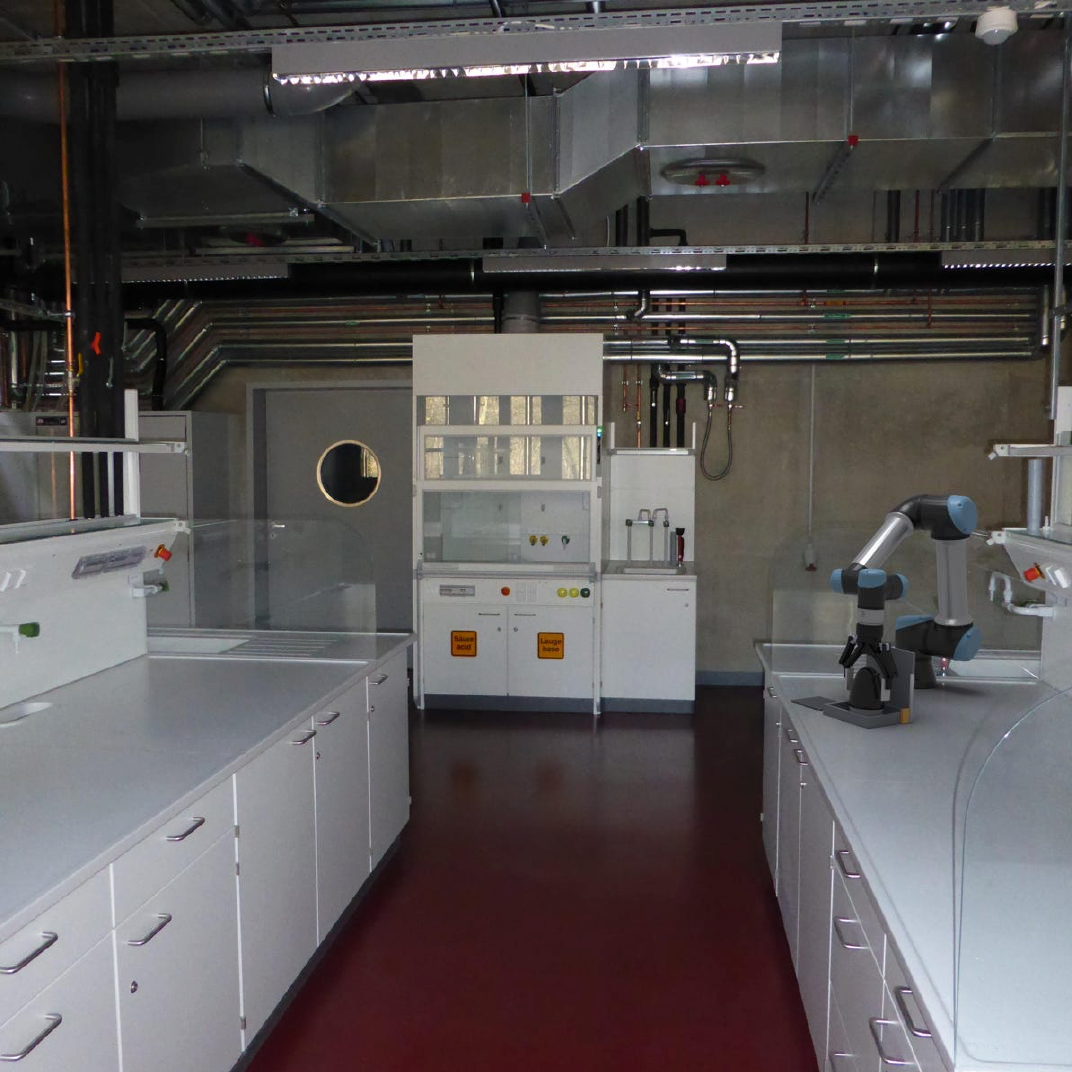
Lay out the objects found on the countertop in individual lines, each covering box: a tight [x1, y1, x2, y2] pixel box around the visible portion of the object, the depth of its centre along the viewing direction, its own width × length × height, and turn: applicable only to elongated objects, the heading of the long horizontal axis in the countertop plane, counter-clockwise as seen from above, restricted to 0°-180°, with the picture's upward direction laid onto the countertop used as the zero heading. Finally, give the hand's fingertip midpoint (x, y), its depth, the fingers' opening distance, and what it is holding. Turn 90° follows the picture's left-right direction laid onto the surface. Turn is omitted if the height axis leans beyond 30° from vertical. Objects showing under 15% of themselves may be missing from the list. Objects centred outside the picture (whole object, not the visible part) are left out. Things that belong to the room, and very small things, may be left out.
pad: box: [790, 695, 838, 712], centre depth 293 cm, size 12×12×1 cm
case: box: [822, 646, 915, 730], centre depth 277 cm, size 18×18×20 cm
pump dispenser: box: [847, 665, 885, 717], centre depth 278 cm, size 10×10×15 cm
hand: (866, 695), depth 278 cm, fingers open, 13 cm apart
